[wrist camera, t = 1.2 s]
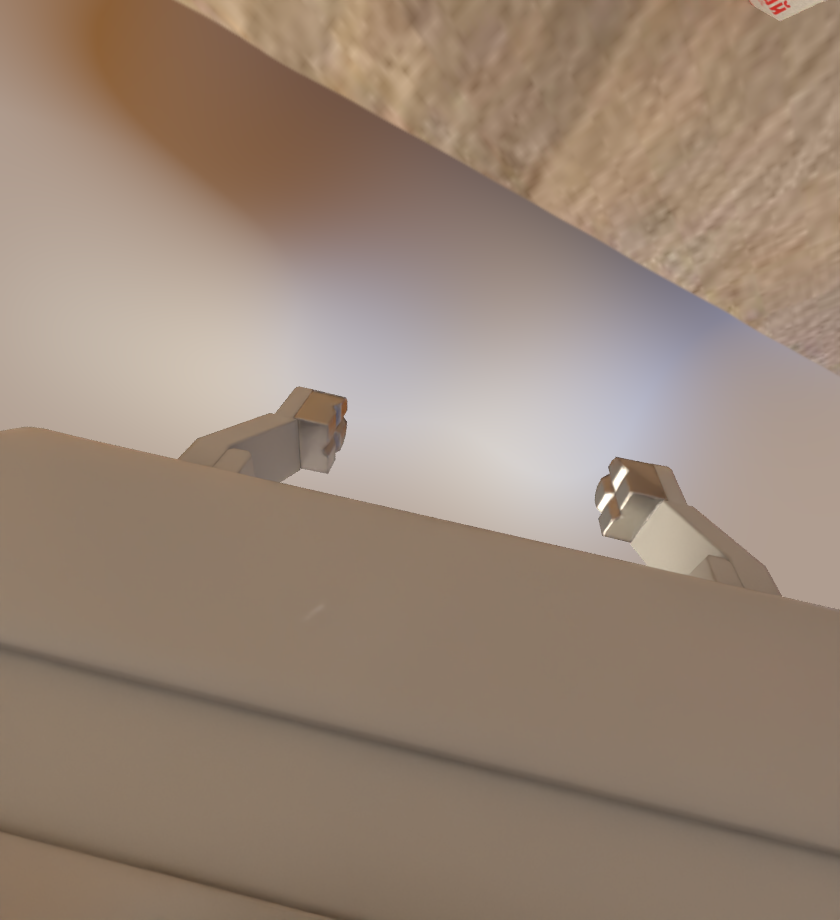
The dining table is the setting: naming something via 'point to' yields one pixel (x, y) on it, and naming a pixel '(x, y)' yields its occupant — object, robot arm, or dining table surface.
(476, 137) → the dining table surface
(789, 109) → the dining table surface
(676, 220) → the dining table surface
